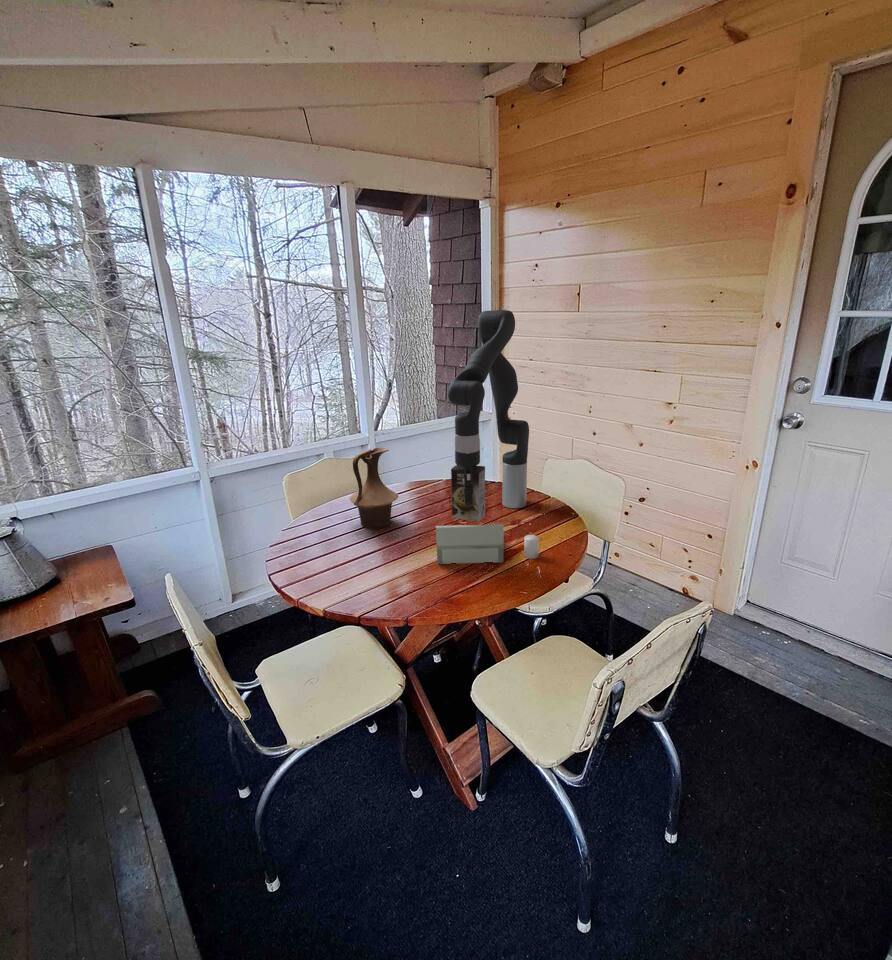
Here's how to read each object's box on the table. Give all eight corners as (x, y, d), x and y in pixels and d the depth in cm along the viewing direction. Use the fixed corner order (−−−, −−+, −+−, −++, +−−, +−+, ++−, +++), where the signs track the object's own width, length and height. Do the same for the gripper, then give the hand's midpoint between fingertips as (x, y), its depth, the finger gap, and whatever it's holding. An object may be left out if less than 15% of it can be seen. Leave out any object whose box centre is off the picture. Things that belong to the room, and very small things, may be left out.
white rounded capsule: (523, 552, 161) (523, 534, 159) (537, 552, 161) (537, 534, 159) (525, 558, 157) (525, 541, 155) (539, 558, 157) (540, 540, 155)
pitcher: (375, 537, 174) (368, 458, 165) (341, 526, 184) (333, 451, 175) (409, 520, 188) (404, 446, 179) (375, 511, 198) (370, 440, 189)
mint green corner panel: (438, 543, 169) (436, 509, 165) (499, 542, 168) (499, 508, 165) (437, 564, 155) (435, 527, 152) (503, 562, 155) (503, 525, 151)
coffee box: (451, 518, 159) (449, 468, 154) (458, 510, 165) (457, 462, 159) (479, 522, 156) (478, 471, 150) (485, 514, 161) (485, 465, 156)
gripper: (454, 442, 160) (455, 491, 165) (455, 455, 146) (456, 508, 152) (478, 441, 160) (479, 491, 165) (481, 454, 146) (481, 507, 152)
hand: (468, 499), depth 158 cm, fingers closed on coffee box, 8 cm apart
